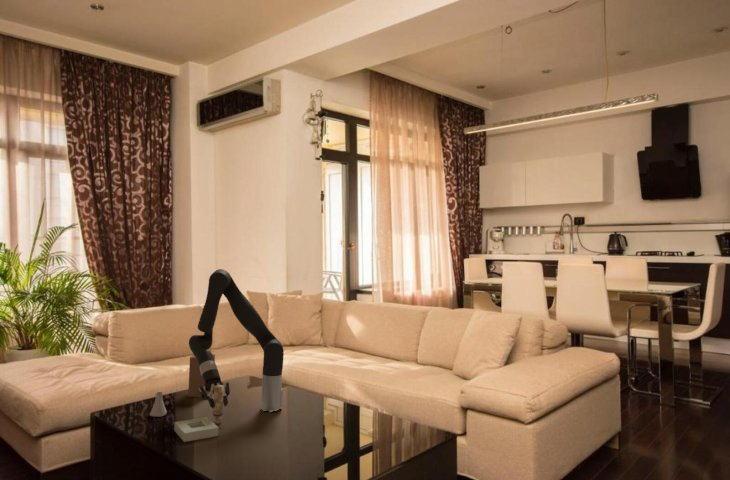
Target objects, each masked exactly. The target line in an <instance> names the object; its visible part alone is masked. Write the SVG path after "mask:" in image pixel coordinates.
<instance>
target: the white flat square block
mask: <svg viewBox="0 0 730 480" xmlns="http://www.w3.org/2000/svg"><path fill="white" fill-rule="evenodd" d="M173 428H174V429H173V430H174V432H175V433H176V434H177V436H178V437H179V438H180V440H182V441H183V443H186V442H191V441H196V440H197V441H198V440H203V439H208V438H213V437H219V429H220V427H219V426H218V425H217V424H215V423H213V421H212V420H211V419H210V418H209V417H208V416H205V417H198V418H192V419H185V420H180V421H174V427H173Z"/></svg>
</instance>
